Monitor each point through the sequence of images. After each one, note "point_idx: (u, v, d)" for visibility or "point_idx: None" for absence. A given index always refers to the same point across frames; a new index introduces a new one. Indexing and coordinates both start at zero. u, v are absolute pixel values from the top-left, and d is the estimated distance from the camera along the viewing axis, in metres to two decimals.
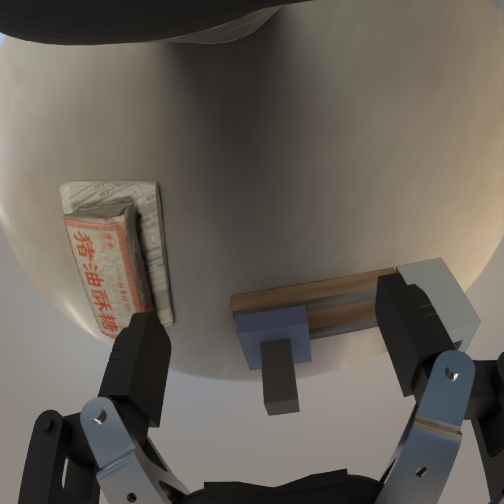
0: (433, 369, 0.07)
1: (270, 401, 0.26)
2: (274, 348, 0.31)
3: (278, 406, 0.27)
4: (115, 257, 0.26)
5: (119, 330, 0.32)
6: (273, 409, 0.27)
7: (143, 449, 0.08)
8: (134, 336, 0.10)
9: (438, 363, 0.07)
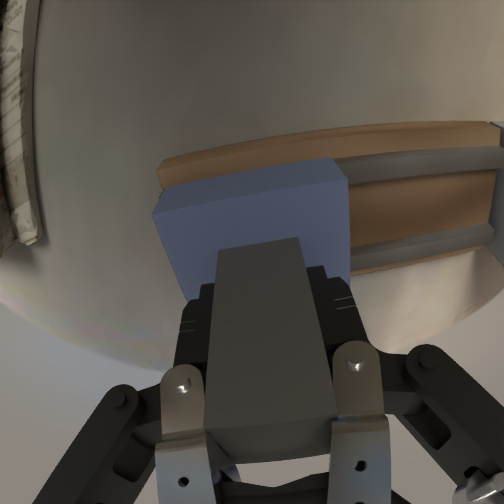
0: (332, 357, 0.08)
1: (227, 423, 0.06)
2: (255, 259, 0.11)
3: (261, 439, 0.07)
4: None
5: None
6: (244, 448, 0.07)
7: None
8: (208, 305, 0.10)
9: (337, 359, 0.08)
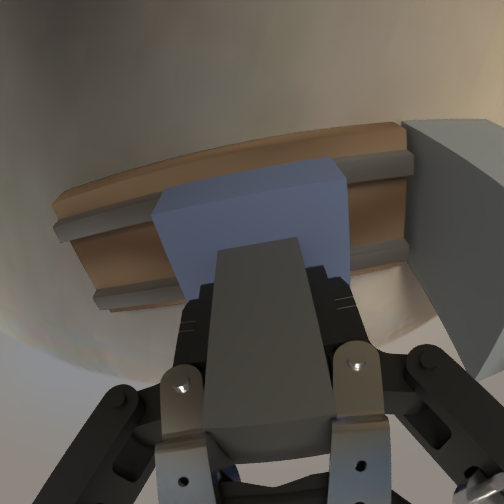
0: (332, 357, 0.08)
1: (226, 423, 0.06)
2: (254, 259, 0.11)
3: (260, 439, 0.07)
4: None
5: None
6: (243, 448, 0.07)
7: None
8: (208, 305, 0.10)
9: (337, 359, 0.08)
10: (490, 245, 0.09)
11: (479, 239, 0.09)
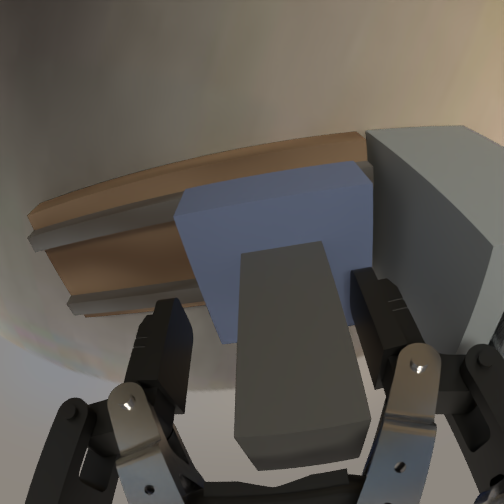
0: (397, 361, 0.07)
1: (259, 432, 0.06)
2: (279, 263, 0.11)
3: (291, 447, 0.07)
4: None
5: None
6: (272, 455, 0.07)
7: (167, 438, 0.08)
8: (160, 322, 0.10)
9: (401, 357, 0.07)
10: (441, 268, 0.09)
11: (432, 261, 0.09)
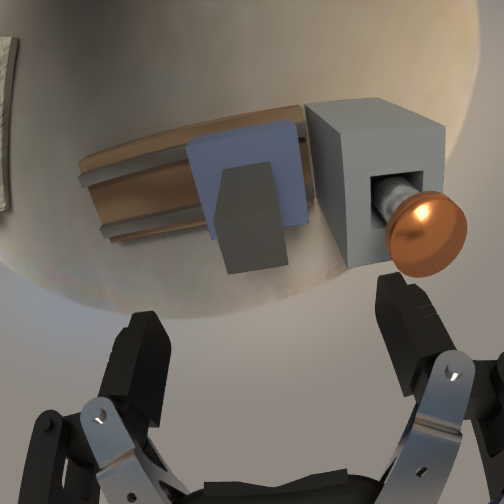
0: (433, 369, 0.07)
1: (225, 218, 0.14)
2: (244, 170, 0.19)
3: (243, 235, 0.15)
4: None
5: None
6: (233, 247, 0.15)
7: (143, 449, 0.08)
8: (134, 336, 0.10)
9: (438, 363, 0.07)
10: (333, 163, 0.17)
11: (331, 163, 0.18)
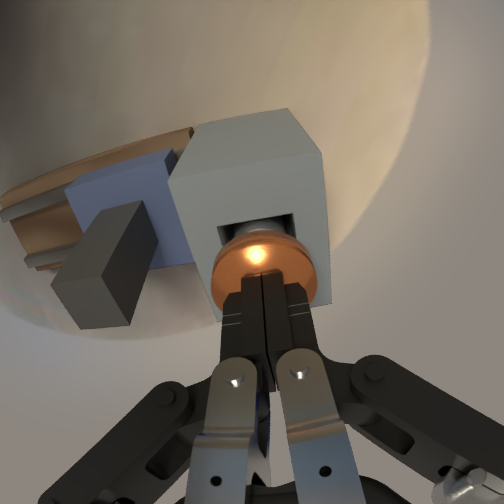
0: (276, 364, 0.08)
1: (59, 282, 0.12)
2: (113, 213, 0.17)
3: (78, 297, 0.13)
4: None
5: None
6: (75, 307, 0.13)
7: None
8: (252, 297, 0.10)
9: (279, 370, 0.08)
10: None
11: None
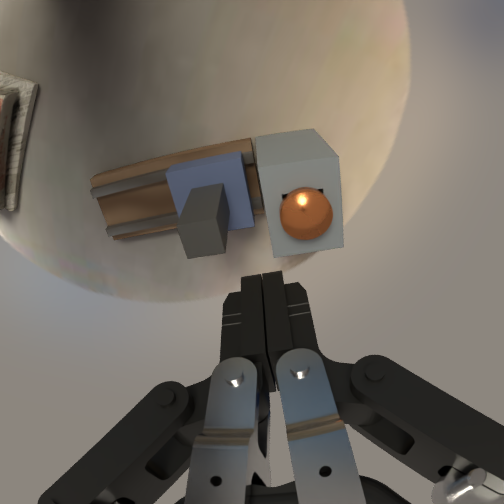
0: (276, 364, 0.08)
1: (183, 223, 0.23)
2: (204, 189, 0.28)
3: (194, 234, 0.23)
4: None
5: None
6: (189, 241, 0.24)
7: None
8: (252, 297, 0.10)
9: (280, 370, 0.08)
10: None
11: None
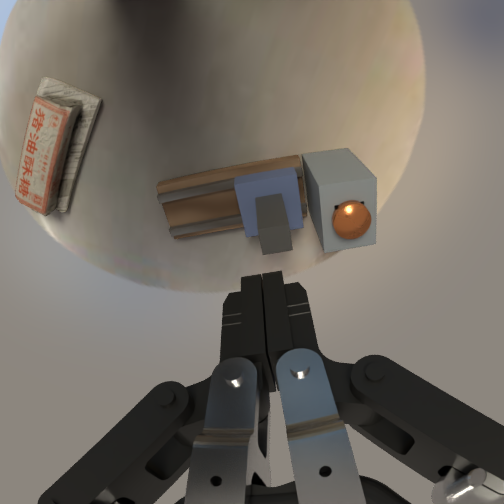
0: (276, 364, 0.08)
1: (263, 228, 0.30)
2: (267, 199, 0.35)
3: (271, 236, 0.31)
4: (53, 134, 0.31)
5: (28, 196, 0.35)
6: (266, 241, 0.31)
7: None
8: (252, 297, 0.10)
9: (280, 370, 0.08)
10: (316, 197, 0.33)
11: (315, 196, 0.34)
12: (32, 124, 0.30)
